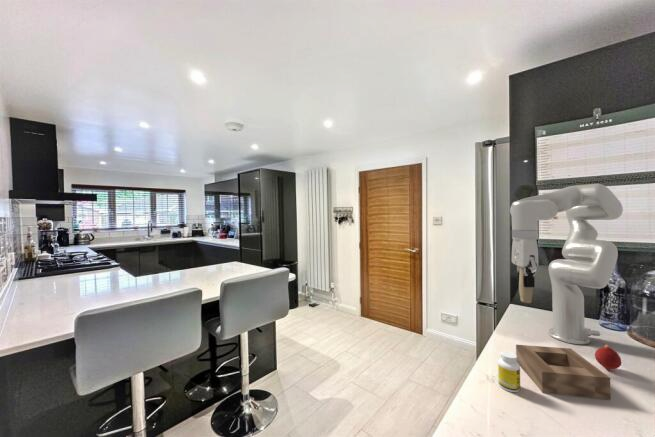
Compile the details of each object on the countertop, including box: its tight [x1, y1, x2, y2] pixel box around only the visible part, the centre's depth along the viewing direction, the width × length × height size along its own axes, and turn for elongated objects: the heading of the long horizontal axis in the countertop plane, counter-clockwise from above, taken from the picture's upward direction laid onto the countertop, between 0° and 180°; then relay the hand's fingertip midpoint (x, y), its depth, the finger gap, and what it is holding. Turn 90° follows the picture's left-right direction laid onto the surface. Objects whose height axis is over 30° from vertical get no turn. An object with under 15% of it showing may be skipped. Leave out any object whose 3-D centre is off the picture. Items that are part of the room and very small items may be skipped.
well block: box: [515, 344, 612, 401], centre depth 81 cm, size 16×16×6 cm
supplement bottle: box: [497, 350, 521, 393], centre depth 78 cm, size 5×5×10 cm
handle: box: [514, 260, 534, 304], centre depth 96 cm, size 5×6×15 cm
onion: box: [594, 344, 622, 371], centre depth 85 cm, size 6×6×8 cm
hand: (525, 284), depth 96 cm, fingers closed on handle, 3 cm apart
